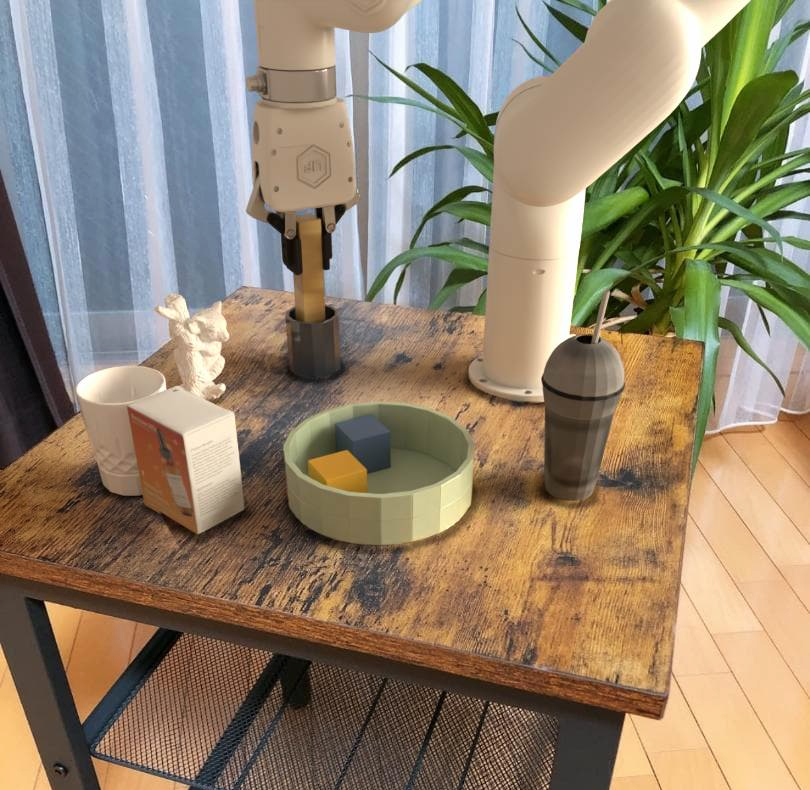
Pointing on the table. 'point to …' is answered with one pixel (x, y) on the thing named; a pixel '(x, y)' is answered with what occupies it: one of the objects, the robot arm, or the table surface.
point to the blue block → (365, 442)
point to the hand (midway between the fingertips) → (307, 267)
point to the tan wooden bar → (310, 271)
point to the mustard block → (339, 472)
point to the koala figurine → (197, 345)
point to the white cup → (116, 421)
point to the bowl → (385, 476)
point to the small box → (187, 458)
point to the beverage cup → (579, 410)
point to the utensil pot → (314, 344)
